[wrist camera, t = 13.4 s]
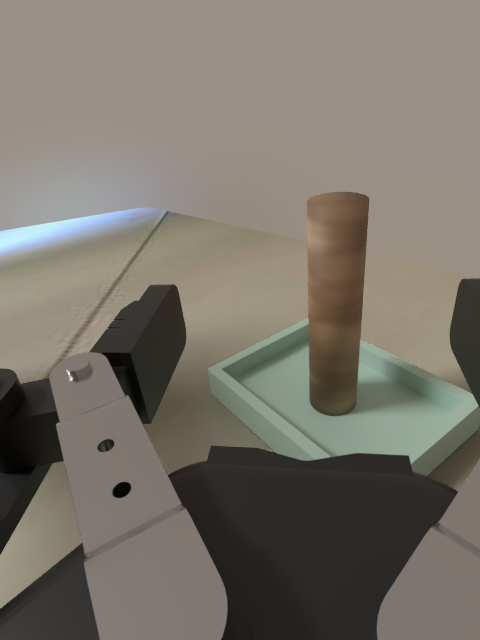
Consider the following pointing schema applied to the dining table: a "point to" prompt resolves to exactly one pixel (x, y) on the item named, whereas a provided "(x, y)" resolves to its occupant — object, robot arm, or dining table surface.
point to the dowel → (335, 297)
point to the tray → (356, 426)
